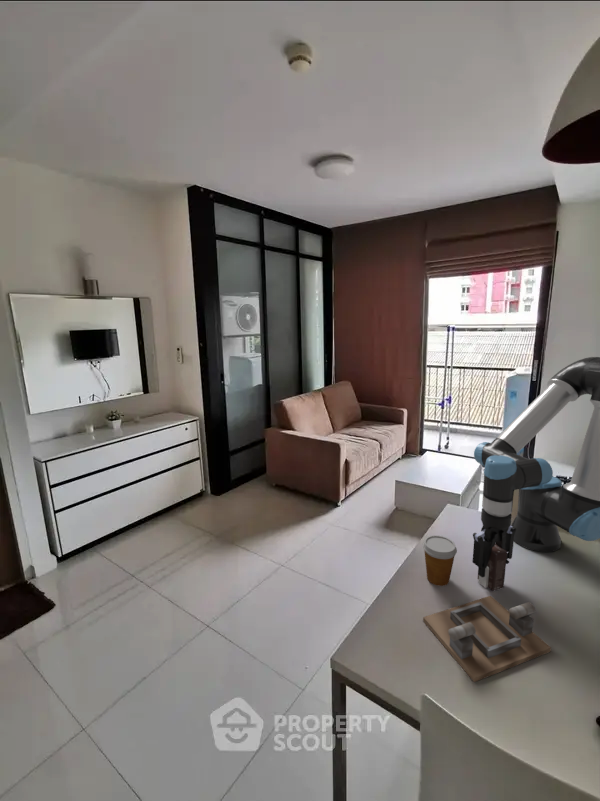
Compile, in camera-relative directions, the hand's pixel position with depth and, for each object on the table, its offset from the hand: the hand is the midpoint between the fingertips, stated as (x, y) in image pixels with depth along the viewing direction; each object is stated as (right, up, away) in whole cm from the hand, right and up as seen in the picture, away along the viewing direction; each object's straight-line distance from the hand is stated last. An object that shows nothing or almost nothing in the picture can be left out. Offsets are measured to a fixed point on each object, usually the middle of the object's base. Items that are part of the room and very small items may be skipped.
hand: (490, 582), depth 111 cm
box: (0, -1, 0) cm, 1 cm away
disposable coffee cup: (-14, 0, +3) cm, 15 cm away
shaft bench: (-11, -5, -18) cm, 21 cm away
